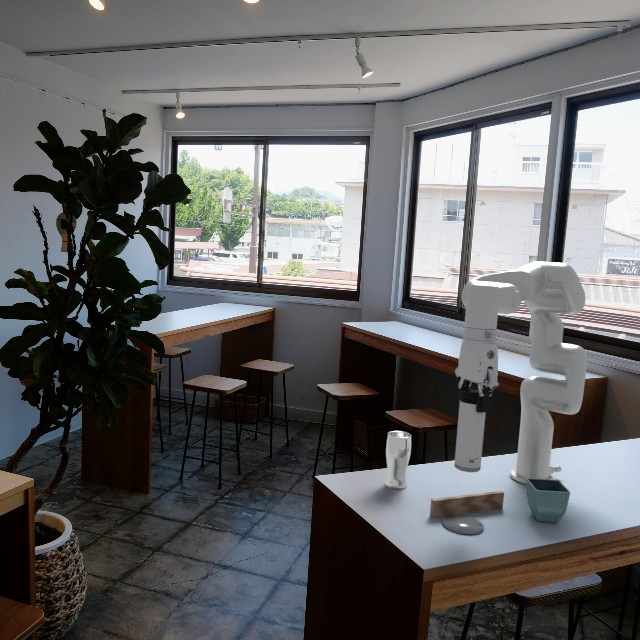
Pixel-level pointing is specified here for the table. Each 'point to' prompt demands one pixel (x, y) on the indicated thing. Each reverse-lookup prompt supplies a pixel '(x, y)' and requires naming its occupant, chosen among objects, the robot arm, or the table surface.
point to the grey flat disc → (463, 525)
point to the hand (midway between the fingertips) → (473, 407)
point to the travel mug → (469, 433)
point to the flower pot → (547, 499)
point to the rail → (466, 504)
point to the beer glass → (397, 458)
